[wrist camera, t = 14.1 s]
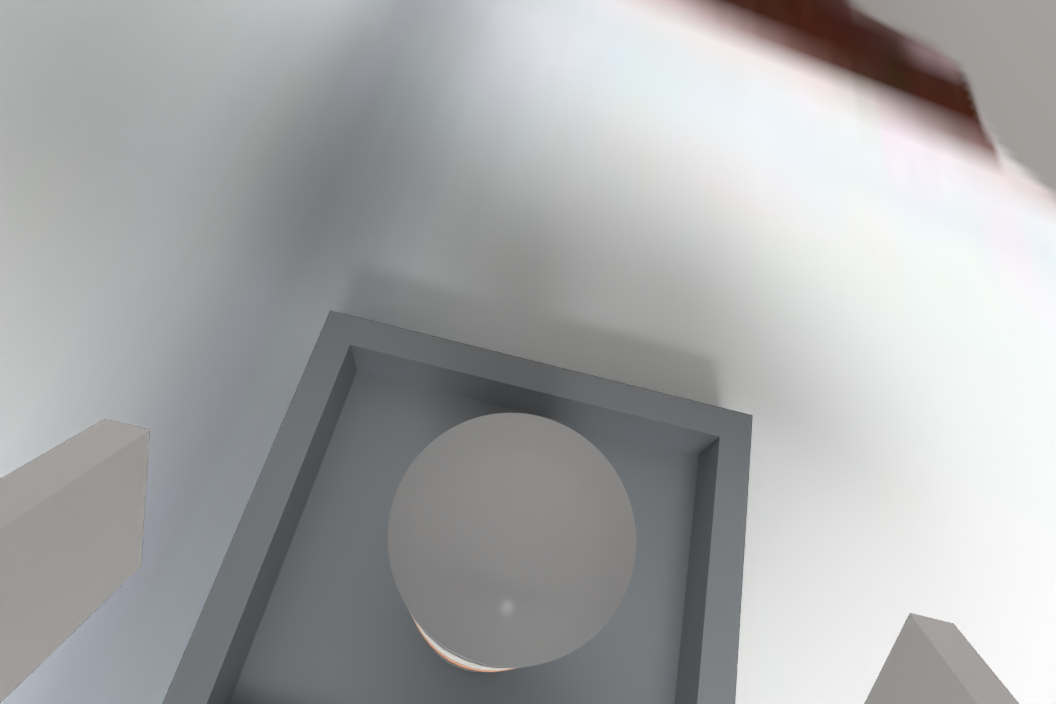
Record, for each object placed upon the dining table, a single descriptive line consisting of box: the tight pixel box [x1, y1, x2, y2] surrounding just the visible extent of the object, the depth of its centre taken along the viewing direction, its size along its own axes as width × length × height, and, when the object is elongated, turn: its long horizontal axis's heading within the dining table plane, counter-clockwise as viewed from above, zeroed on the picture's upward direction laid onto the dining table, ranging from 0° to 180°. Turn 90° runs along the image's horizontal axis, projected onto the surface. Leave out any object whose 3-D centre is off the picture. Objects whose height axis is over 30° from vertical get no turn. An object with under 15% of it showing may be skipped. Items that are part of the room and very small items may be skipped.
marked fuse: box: [388, 413, 636, 672], centre depth 15 cm, size 4×4×10 cm
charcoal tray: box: [163, 311, 752, 704], centre depth 19 cm, size 14×14×2 cm
